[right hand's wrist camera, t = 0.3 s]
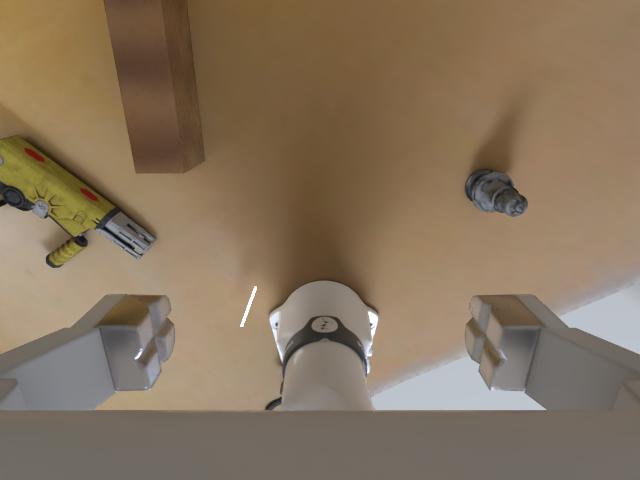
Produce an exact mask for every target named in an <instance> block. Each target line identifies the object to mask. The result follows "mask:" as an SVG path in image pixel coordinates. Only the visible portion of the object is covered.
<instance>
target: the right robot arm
mask: <svg viewBox="0 0 640 480" xmlns="http://www.w3.org/2000/svg"><path fill="white" fill-rule="evenodd" d="M256 288H257V287H255V288H254V291H253V293H252V296H251V299H250V302H249V304H248V307H247V310H246V313H245V316H244V318H243V321H242V324H241V326H242V327H243V324H244V321H245V319H246V316H247V313H248V310H249V308H250V305H251V302H252V299H253V297H254V294H255V291H256ZM170 311H171V306H170V301H169V298H168V297H167V296H166V295H131V294H130V295H128V294H111V295H106V296H104V297H103V298H102V299H101V300H100V301H99V302H98V303H97V304H96V305H95V306H94V307H93V308H92V309H90V310H89V311H88V312H87V313H86V314H85V315H84V316H83V317H82V318H81V319H80V320H79V321H78V322H76V323H75V324H74V325H73V326H72V327H71V328H63V329H61V330H58V331H56V332H53V333H51V334H49V335H46V336H44V337H41V338H39V339H37V340H34V341H32V342H29V343H27V344H24V345H22V346H20V347H17V348H15V349H12V350H10V351H8V352H5V353H3V354H0V480H640V355H639V354H637V353H635V352H632V351H630V350H627V349H625V348H623V347H620V346H618V345H615V344H613V343H611V342H608V341H606V340H603V339H601V338H599V337H596V336H594V335H591V334H589V333H587V332H584V331H582V330H579V329H577V328H569V327H568V326H567V325H566V324H565V323H564V322H562V321H561V320H560V319H559V318H558V317H557V316H556V315H555V314H554V313H553V312H552V311H551V310H550V309H549V308H547V307H546V306H545V305H544V304H543V303H542V302H541V301H540V300H539V299H538V298H537V297H536V296H534V295H531V294H518V295H477V296H473V297H472V299H471V301H470V306H469V311H470V313H471V314H472V316H473V318H472V319H471V320H470V321H469V322H468V323H467V324H466V330H465V342H466V347H467V351H468V353H469V355H470V357H471V359H472V360H474V361H475V362H477V363H479V364H480V366H479V373H480V375H481V376H482V378H483V380H484V381H485V383H486V385H487V387H488V388H489V390H500V391H525V393H526V394H527V395H528V396H530V397H531V398H532V399H534V400H535V401H536V402H538V403H539V404H540V405H541V406H543V407H544V408H546V409H547V410H375V409H374V407H373V404H372V401H371V397H370V394H369V390H368V386H367V381H366V376H367V373H369V371H370V360H369V359H367V357H368V356H372V348H370V347H371V345H372V340H373V337H374V333H375V330H376V327H377V323H378V314H377V312H376V311H374V310H373V309H371V308H370V307H368V306H366V305H365V304H364V303H363V302H362V300H361V299H360V298H359V296H358V295H357V294H356V293H355V292H354V291H353V290H352V289H350V288H349V287H347V286H345V285H343V284H341V283H338V282H333V281H315V282H311V283H308V284H305V285H303V286H301V287H299V288H298V289H296V290H295V291H294V292H293V293H292V294H291V295H290V296H289V297H288V299H287V300H286V302H285V303H284V304H283V305H282V306H280V307H278V308H277V309H275V310H274V311H272V312H271V313H270V317H269V320H270V324H271V327H272V331H273V334H274V338H275V341H276V344H277V348H278V351H279V355H280V358H281V361H282V365H283V368H282V369H283V378H284V380H283V382H282V384H281V390H280V394H282V398H280V399H278V400H276V401H274V402H273V403H272V404H270V405H269V407H268V408H267V409H266V410H93V409H95V408H96V407H97V406H99V405H100V404H101V403H103V402H104V401H105V400H107V399H108V398H109V397H111V396H112V395H113V394H115V391H140V390H151V388H152V387H153V385H154V383H155V381H156V380H157V378H158V376H159V375H160V373H161V366H160V364H161V363H163V362H165V361H166V360H168V359H169V357H170V355H171V353H172V351H173V347H174V343H175V329H174V324H173V323H172V322H171V321H170V320H169V319H168V318H167V316H168V314H169V313H170ZM370 322H371V324H370ZM276 323H278V324H276ZM280 404H281V410H272V409H273V408H275V407H276V406H278V405H280Z"/></svg>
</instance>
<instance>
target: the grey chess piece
mask: <svg viewBox="0 0 640 480" xmlns="http://www.w3.org/2000/svg"><path fill="white" fill-rule="evenodd" d="M465 191H466V195H467V197H468V198H469V199H470V200H471V201H472V202H474V204H475V206H476V207H477V208H478V209H480V210H482V211H484V212H495V211H497V212H500V213H506V214H507V215H509V216H513V217H516V216H520V215H521V214H523V213H524V212H525V211H526V209H527V206H528V202H527V199H526V198H525V197H524V196H522V195H520V194H519V193H518V191H517V190H516V189H515V188H514V184H513V182H512V180H511V178H510V177H509V176H508V175H506V174H504V173H501V172H494V171H492V170H489V169H483V170H479V171H477V172H475V173H474V174H473V175H471V176H470V178H469V179H468V181H467V183H466V188H465Z"/></svg>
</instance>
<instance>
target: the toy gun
mask: <svg viewBox="0 0 640 480" xmlns="http://www.w3.org/2000/svg"><path fill="white" fill-rule="evenodd" d="M7 203H8V204H9V205H10V206H13V207H16V208H17V209H20V210H22V211H29V210H31V209H32V211H33V213H35V214H36V215H38V216H39V217H41V218H42V219H45V218H47V217H50V218H52V219H53V220H54V221H55V222H56V223H57V224H58V225H59V226H60V227H62V228H63V229H64V230H65V231H66V232H67V233H68V234H69V235H71V236H72V238H71V239H70V240H68V241H67V242H66V243H65V244H62V245H61V247H60V248H57V249H56V250H55V251H53V252H52V253H50V254H48V255H47V257H46V263H47V264H48V265H49V266H51V267H52V268H58V267H61V266H62V265H63V264H64V263H65V262H66V261H68V260H69V259H70V258H71V257H73V256H74V255H75V254H76V253H78V252H80V251H81V250H82V249H84V248H85V247H86V246H87V245H88V241H87V240H86V239H85V237H84V236H82V235H83V234H84V233H85V232H86V231H88V230H89V229H95V230H96V231H98V232H99V233H100V234H103V235H104V236H105V237H106V238H108V239H109V240H110V241H111V242H114V243H115V244H116V245H118V246H119V247H121V248H122V249H123V250H124V251H127V252H129V253H130V254H131V255H132V256H134V257H135V258H136V259H137V260H139V259H140V258H141V256H142V255H143V254H144V253H145V252H146V251H147V250H148V249H149V247H150V246H151V245H152V244H153V243H154V242H155V240H156V239H157V238H156V237H155V238H154V237H153V236H152V235H150V234H149V233H148V232H147V231H145V229H142V228H141V227H140V226H138V225H137V224H136V223H134V222H133V221H132V220H131V219H129V218H128V217H126V216H125V215H124V214H123V213H122V212H121V210H119V209H118V208H117V207H115V206H114V205H112V204H111V203H110V202H108V201H107V200H106V199H104V198H103V197H102V196H100V195H99V194H97V193H96V192H95V191H93V190H92V189H91V188H89V187H88V186H87V185H85V184H84V183H82V182H81V181H80V180H78V179H77V178H76V177H74V176H73V175H71V174H70V173H69V172H67V171H66V170H65V169H63V168H62V167H61V166H59V165H58V164H56V163H55V162H54V161H52V160H51V159H50V158H48V157H47V156H45V155H44V154H43V153H41V152H40V151H39V150H37V149H36V148H35V147H33V146H32V145H30V144H29V143H28V142H26V141H25V140H24V139H22V138H21V137H19V136H18V135H16V136H13V137H8V138H2V139H0V207H1V206H3V205H5V204H7ZM145 237H146V238H147V239H149V240H150V241H151V243H150V244H149V243H148V242H146V241H145V240H143V238H145ZM135 248H137V249H138V250H140V251H141V252H142V253H141V254H139V253H137V252H136V251H134V249H135Z"/></svg>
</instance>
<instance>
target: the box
mask: <svg viewBox="0 0 640 480" xmlns="http://www.w3.org/2000/svg"><path fill="white" fill-rule="evenodd" d="M104 4H105V10H106V15H107V20H108V26H109V31H110V37H111V42H112V47H113V53H114V58H115V64H116V69H117V74H118V80H119V85H120V91H121V96H122V101H123V107H124V112H125V117H126V123H127V128H128V134H129V139H130V144H131V150H132V155H133V161H134V166H135V171H136V173H185V172H187V171H189V170H190V169H192V168H194V167H195V166H197V165H199V164H200V163H202V162H204V161H205V159H204V150H203V141H202V133H201V124H200V115H199V107H198V98H197V89H196V81H195V72H194V63H193V55H192V46H191V37H190V29H189V20H188V11H187V3H186V0H104Z"/></svg>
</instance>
